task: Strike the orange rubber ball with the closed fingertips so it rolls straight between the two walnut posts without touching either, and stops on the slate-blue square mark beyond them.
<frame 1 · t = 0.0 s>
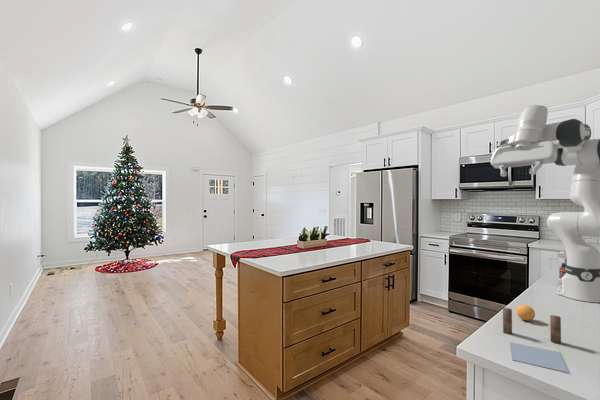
hand: (517, 174, 107), 54 cm above the counter, tool tilted 30°, fingers open, 8 cm apart
post 2: (555, 341, 93), on the counter
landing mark: (536, 356, 85), on the counter
supplement bottle: (566, 285, 153), on the counter
post 1: (507, 332, 100), on the counter
beer glass: (566, 279, 164), on the counter
ball: (525, 312, 110), on the counter
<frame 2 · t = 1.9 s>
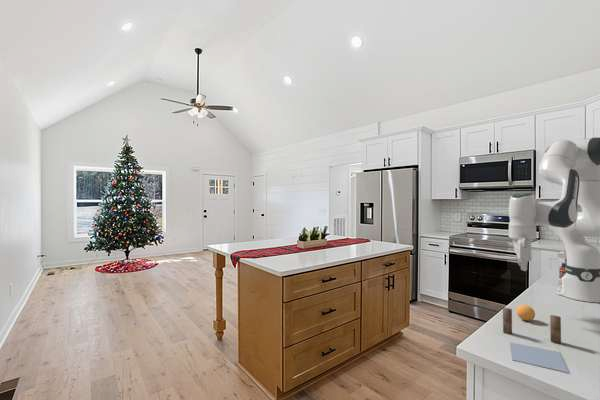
hand: (522, 268, 118), 18 cm above the counter, tool pointing down, fingers open, 8 cm apart
nothing on the counter moved.
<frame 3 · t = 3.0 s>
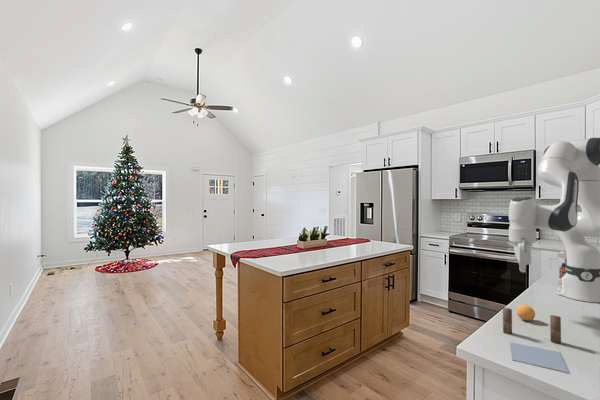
hand: (522, 271, 118), 16 cm above the counter, tool pointing down, fingers closed
nothing on the counter moved.
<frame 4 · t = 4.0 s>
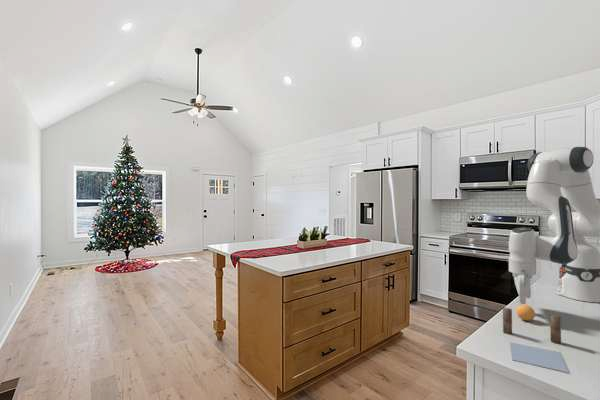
hand: (522, 302, 118), 4 cm above the counter, tool pointing down, fingers closed
nothing on the counter moved.
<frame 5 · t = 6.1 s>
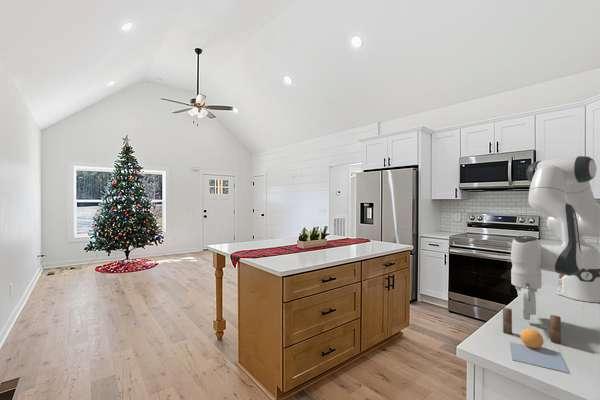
hand: (526, 318, 107), 2 cm above the counter, tool pointing down, fingers closed
ball: (531, 338, 90), on the counter
everything else where it was.
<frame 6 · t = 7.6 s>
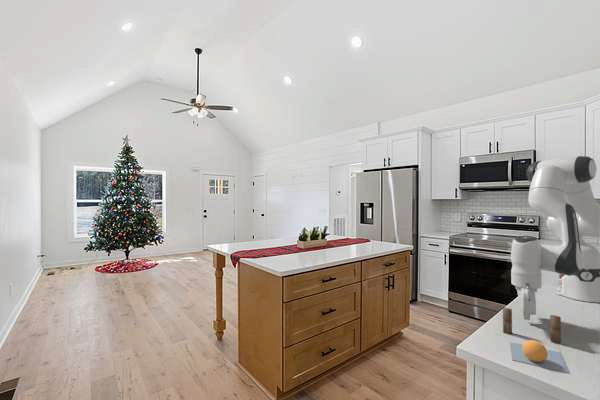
hand: (526, 318, 107), 2 cm above the counter, tool pointing down, fingers closed
ball: (534, 350, 83), on the counter
everything else where it was.
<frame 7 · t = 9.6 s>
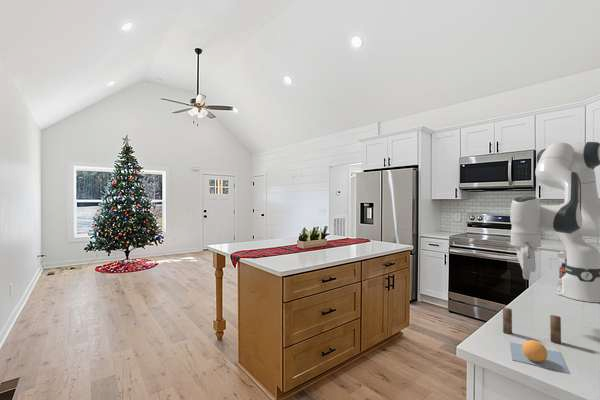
hand: (526, 278, 108), 16 cm above the counter, tool pointing down, fingers closed
nothing on the counter moved.
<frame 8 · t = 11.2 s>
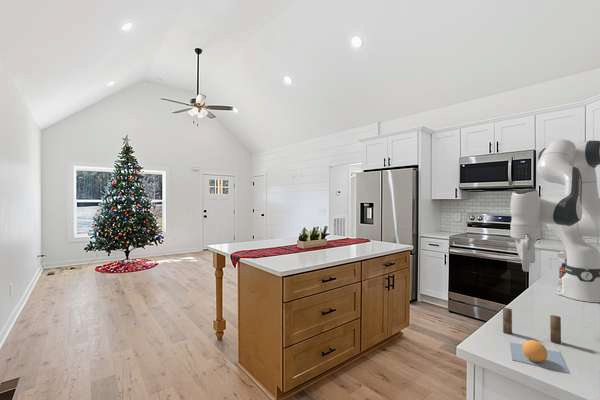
hand: (525, 270, 107), 19 cm above the counter, tool pointing down, fingers closed
nothing on the counter moved.
at the end: ball 3.1 cm from the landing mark (horizontally); ball never touched post 2; ball never touched post 1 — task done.
